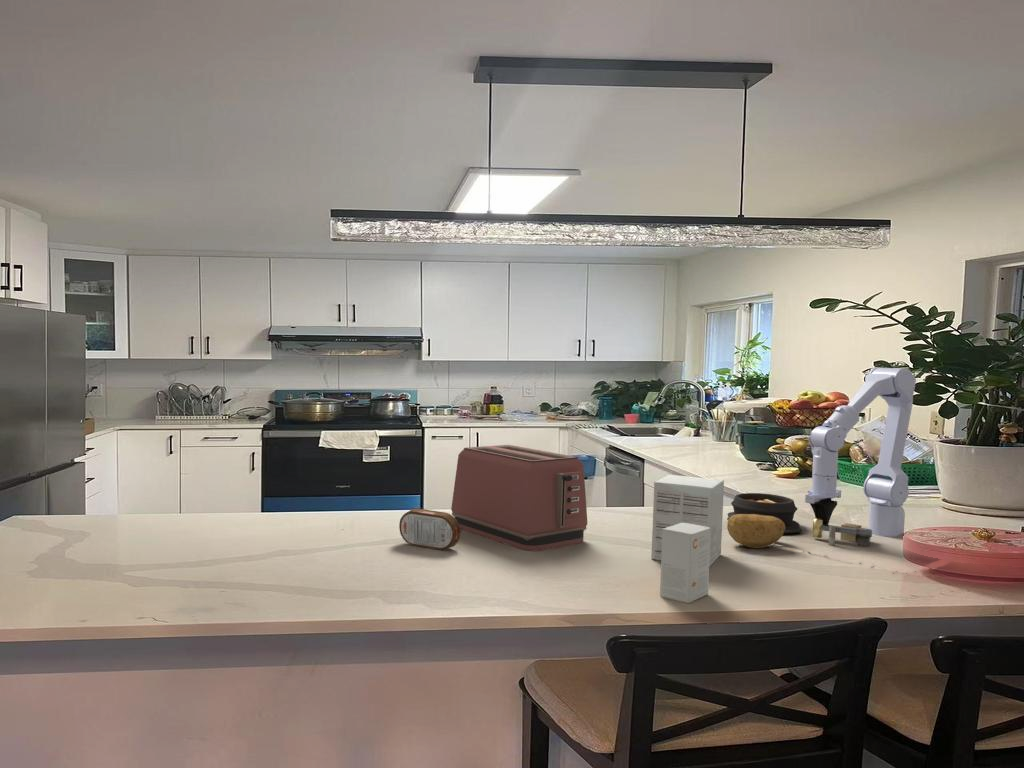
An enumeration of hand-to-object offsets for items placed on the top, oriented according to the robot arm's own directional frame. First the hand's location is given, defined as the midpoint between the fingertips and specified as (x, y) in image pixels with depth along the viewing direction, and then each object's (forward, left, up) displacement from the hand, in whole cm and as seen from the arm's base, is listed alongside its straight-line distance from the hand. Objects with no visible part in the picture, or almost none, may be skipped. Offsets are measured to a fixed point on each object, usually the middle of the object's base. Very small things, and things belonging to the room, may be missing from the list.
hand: (822, 528), depth 197 cm
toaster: (+58, -49, -4) cm, 76 cm away
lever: (-1, +5, -2) cm, 5 cm away
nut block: (-5, +5, -2) cm, 7 cm away
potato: (+19, -7, -4) cm, 20 cm away
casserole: (-1, -17, -4) cm, 18 cm away
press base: (-1, +6, -3) cm, 7 cm away
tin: (+84, -51, -4) cm, 98 cm away
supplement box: (+41, -11, -4) cm, 42 cm away
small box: (+65, +6, -4) cm, 65 cm away
